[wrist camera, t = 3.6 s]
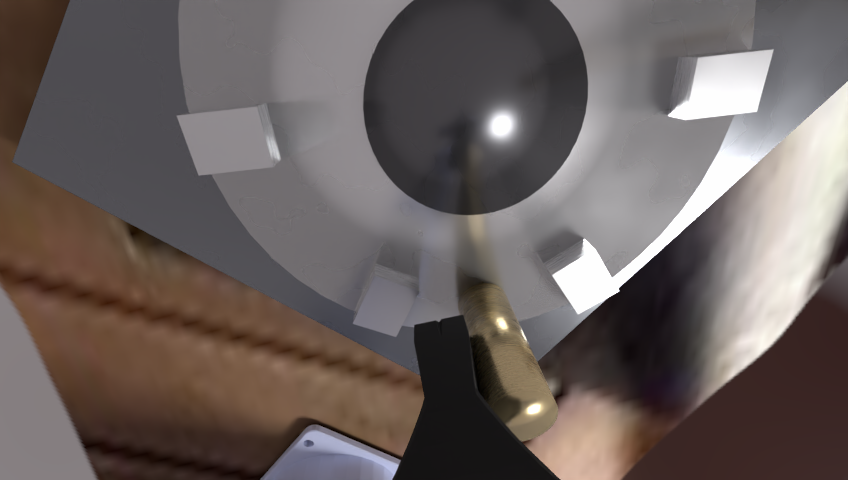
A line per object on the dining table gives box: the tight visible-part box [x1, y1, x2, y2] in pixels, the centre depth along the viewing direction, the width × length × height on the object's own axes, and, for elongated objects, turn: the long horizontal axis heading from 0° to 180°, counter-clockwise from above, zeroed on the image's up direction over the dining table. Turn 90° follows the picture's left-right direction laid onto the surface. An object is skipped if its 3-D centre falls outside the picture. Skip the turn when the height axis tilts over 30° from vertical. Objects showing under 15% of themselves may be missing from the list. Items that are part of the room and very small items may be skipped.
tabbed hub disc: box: [177, 0, 774, 441], centre depth 9 cm, size 14×14×7 cm
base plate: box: [12, 0, 848, 375], centre depth 13 cm, size 20×20×1 cm
